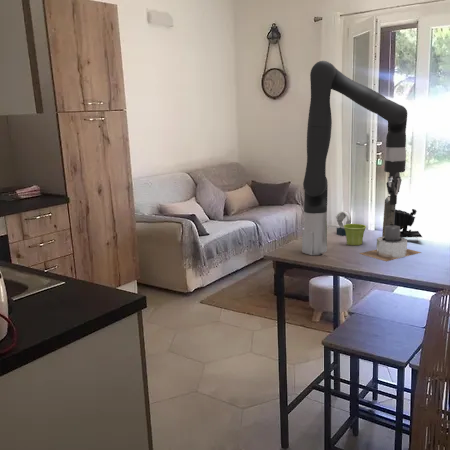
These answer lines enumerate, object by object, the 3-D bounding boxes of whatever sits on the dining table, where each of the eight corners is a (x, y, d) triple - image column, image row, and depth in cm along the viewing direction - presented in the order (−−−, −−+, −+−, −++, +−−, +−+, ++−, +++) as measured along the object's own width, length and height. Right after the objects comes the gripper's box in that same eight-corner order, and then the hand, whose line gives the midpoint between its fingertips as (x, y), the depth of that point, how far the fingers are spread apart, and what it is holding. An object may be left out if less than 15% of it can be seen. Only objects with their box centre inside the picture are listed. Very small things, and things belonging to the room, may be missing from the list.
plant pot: (365, 243, 218) (365, 223, 216) (366, 248, 209) (366, 228, 207) (343, 242, 220) (343, 223, 218) (343, 248, 211) (343, 228, 209)
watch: (343, 232, 240) (343, 209, 237) (354, 235, 232) (354, 212, 230) (333, 233, 237) (334, 210, 235) (344, 236, 230) (344, 213, 228)
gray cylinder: (392, 249, 192) (393, 229, 190) (381, 246, 196) (381, 226, 195) (402, 247, 194) (403, 226, 193) (391, 244, 199) (391, 224, 197)
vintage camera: (422, 246, 211) (425, 199, 207) (383, 244, 214) (387, 198, 210) (418, 241, 220) (421, 196, 216) (381, 239, 223) (384, 195, 219)
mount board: (386, 263, 187) (386, 261, 187) (358, 255, 199) (358, 253, 199) (421, 254, 197) (422, 252, 196) (393, 247, 209) (393, 245, 208)
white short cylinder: (392, 259, 189) (393, 244, 187) (371, 253, 198) (371, 238, 196) (412, 254, 194) (412, 239, 193) (390, 249, 203) (390, 234, 202)
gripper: (389, 157, 195) (387, 201, 199) (380, 160, 184) (378, 206, 188) (409, 158, 191) (407, 202, 195) (401, 161, 180) (398, 208, 184)
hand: (393, 204), depth 192 cm, fingers closed
